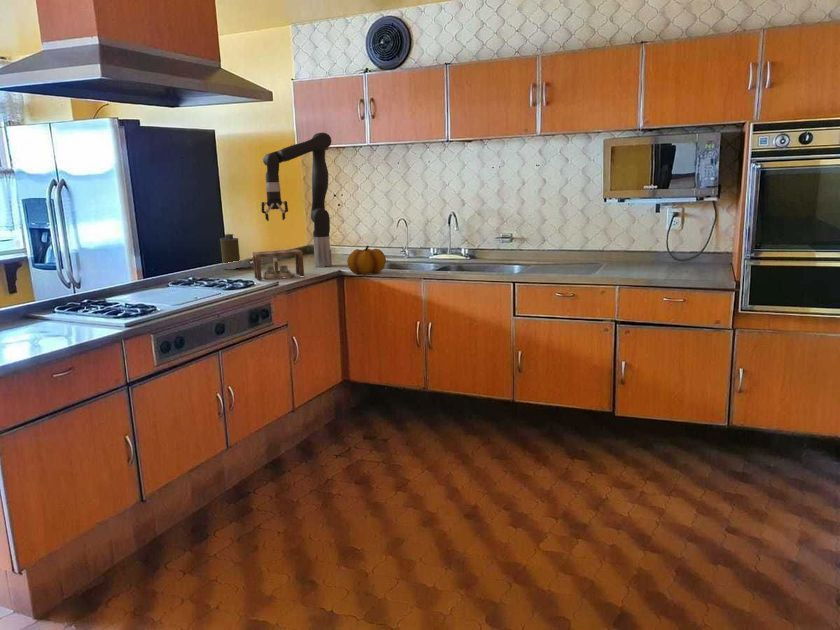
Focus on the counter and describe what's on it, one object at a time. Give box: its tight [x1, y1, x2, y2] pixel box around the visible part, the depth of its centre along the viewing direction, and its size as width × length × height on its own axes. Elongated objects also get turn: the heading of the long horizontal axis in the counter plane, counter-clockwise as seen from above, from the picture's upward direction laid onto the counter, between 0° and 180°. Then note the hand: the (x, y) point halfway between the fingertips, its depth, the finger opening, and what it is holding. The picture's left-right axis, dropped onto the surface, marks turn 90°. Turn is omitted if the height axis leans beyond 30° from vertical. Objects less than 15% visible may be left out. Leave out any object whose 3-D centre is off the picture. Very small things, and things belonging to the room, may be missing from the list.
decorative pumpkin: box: [346, 245, 387, 276], centre depth 352 cm, size 20×22×15 cm
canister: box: [219, 233, 241, 265], centre depth 384 cm, size 11×10×20 cm
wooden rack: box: [252, 248, 305, 281], centre depth 347 cm, size 24×12×14 cm, turn 111°
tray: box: [262, 257, 292, 280], centre depth 354 cm, size 14×23×8 cm, turn 15°
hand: (275, 220), depth 366 cm, fingers open, 8 cm apart
